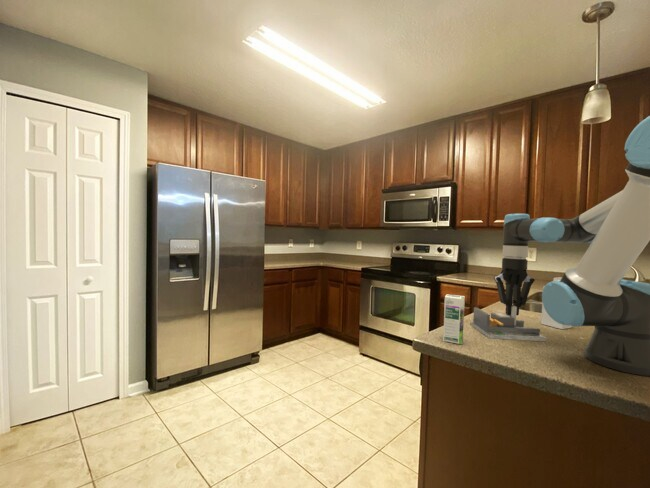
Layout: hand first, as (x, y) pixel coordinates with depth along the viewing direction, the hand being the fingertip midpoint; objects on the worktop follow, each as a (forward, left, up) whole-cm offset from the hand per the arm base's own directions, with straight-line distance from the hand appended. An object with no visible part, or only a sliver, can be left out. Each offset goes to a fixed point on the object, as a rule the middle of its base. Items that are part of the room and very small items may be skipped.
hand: (511, 324), depth 103 cm
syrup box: (-11, +24, -3) cm, 27 cm away
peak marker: (-2, +7, -2) cm, 8 cm away
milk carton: (+12, -23, -3) cm, 26 cm away
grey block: (0, +3, -2) cm, 4 cm away
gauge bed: (0, +2, -3) cm, 4 cm away
